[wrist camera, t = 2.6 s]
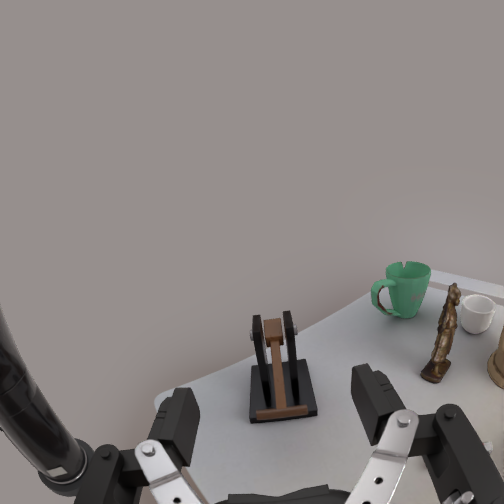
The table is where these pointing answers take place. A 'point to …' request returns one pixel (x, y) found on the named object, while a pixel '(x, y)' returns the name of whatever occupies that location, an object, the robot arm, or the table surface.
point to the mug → (403, 288)
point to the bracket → (293, 375)
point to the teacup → (476, 313)
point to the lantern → (497, 363)
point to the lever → (278, 375)
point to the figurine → (443, 338)
